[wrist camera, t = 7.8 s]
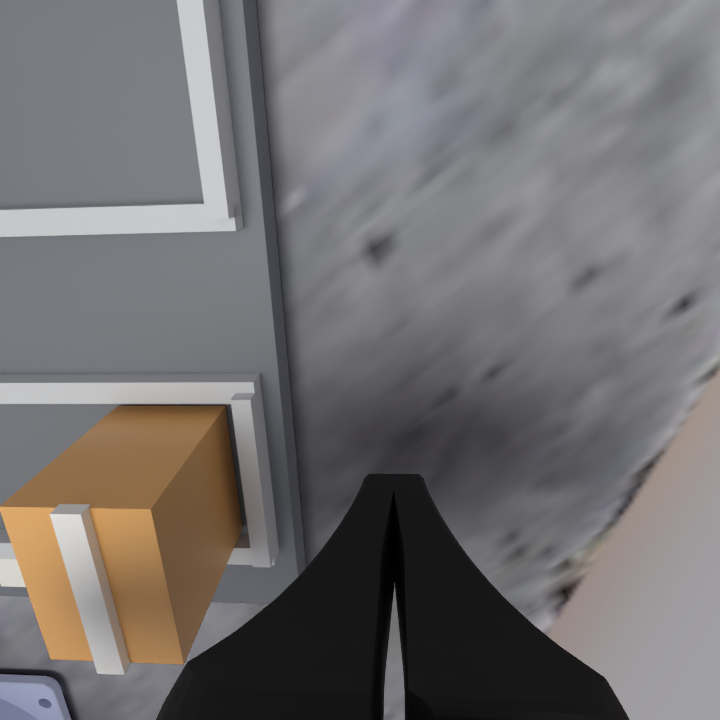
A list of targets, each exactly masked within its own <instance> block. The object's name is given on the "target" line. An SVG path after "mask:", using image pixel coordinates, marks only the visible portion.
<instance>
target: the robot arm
mask: <svg viewBox="0 0 720 720" xmlns="http://www.w3.org/2000/svg"><path fill="white" fill-rule="evenodd" d="M394 582H395V590H396V600H397V610H398V620H399V630H400V641H401V651H402V661H403V671H404V688H405V720H629V718H628V716H627V714H626V712H625V711H624V709H623V707H622V705H621V704H620V702H619V700H618V698H617V697H616V695H615V693H614V692H613V690H612V688H611V687H610V685H609V683H608V682H607V680H606V679H605V678H604V677H603V676H602V675H600V674H599V673H597V672H596V671H594V670H593V669H591V668H590V667H589V666H587V665H586V664H584V663H583V662H582V661H580V660H579V659H577V658H576V657H574V656H573V655H572V654H570V653H569V652H567V651H566V650H564V649H563V648H562V647H560V646H559V645H557V644H556V643H555V642H554V641H552V640H551V639H550V638H549V637H548V636H546V635H545V634H544V633H543V632H541V631H540V630H539V629H538V628H536V627H535V626H534V625H533V624H532V623H531V622H530V621H529V620H528V619H526V618H525V617H524V616H523V615H522V614H521V613H520V612H519V611H518V610H517V609H516V608H515V607H513V606H512V605H511V604H510V603H509V602H508V601H507V600H506V599H505V598H504V597H503V596H502V595H501V594H500V593H499V592H498V590H497V589H496V588H495V587H494V586H493V585H492V584H491V583H490V582H489V581H488V580H487V578H486V577H485V576H484V575H483V574H482V573H481V572H480V570H479V569H478V568H477V567H476V566H475V564H474V563H473V562H472V560H471V559H470V558H469V557H468V555H467V554H466V553H465V551H464V550H463V548H462V547H461V546H460V544H459V543H458V542H457V540H456V539H455V537H454V536H453V534H452V533H451V531H450V530H449V528H448V526H447V525H446V523H445V521H444V520H443V518H442V517H441V515H440V513H439V511H438V510H437V508H436V506H435V504H434V502H433V500H432V498H431V496H430V494H429V492H428V490H427V487H426V485H425V482H424V478H423V477H421V476H420V475H419V474H368V475H367V476H366V477H365V479H364V481H363V484H362V486H361V489H360V491H359V493H358V495H357V497H356V498H355V500H354V502H353V504H352V506H351V507H350V509H349V511H348V512H347V514H346V515H345V517H344V519H343V520H342V522H341V523H340V525H339V526H338V528H337V529H336V531H335V532H334V533H333V535H332V536H331V537H330V539H329V540H328V542H327V543H326V544H325V546H324V547H323V548H322V550H321V551H320V552H319V553H318V555H317V556H316V557H315V558H314V559H313V561H312V562H311V563H310V564H309V565H308V566H307V567H306V569H305V570H304V571H303V572H302V573H301V574H300V575H299V576H298V577H297V578H296V579H295V580H294V581H293V582H292V583H291V584H290V585H289V586H288V587H287V588H286V589H285V590H284V591H283V592H282V593H281V594H280V595H279V596H278V597H277V598H276V599H275V600H273V601H272V602H271V603H270V604H269V605H268V606H267V607H265V608H264V609H263V610H262V611H260V612H259V613H258V614H257V615H255V616H254V617H253V618H252V619H250V620H249V621H248V622H247V623H245V624H244V625H243V626H242V627H240V628H239V629H238V630H236V631H235V632H234V633H232V634H231V635H229V636H228V637H226V638H225V639H223V640H222V641H220V642H218V643H217V644H215V645H214V646H212V647H211V648H209V649H208V650H206V651H205V652H203V653H201V654H200V655H198V656H197V657H195V658H193V659H192V660H190V661H188V662H187V664H186V665H185V667H184V669H183V670H182V672H181V674H180V676H179V677H178V679H177V681H176V682H175V684H174V686H173V688H172V689H171V691H170V693H169V695H168V696H167V698H166V700H165V702H164V704H163V706H162V708H161V710H160V712H159V714H158V717H157V719H156V720H383V716H384V683H385V669H386V659H387V650H388V640H389V631H390V621H391V612H392V602H393V592H394ZM0 720H71V717H70V714H69V711H68V708H67V705H66V702H65V700H64V697H63V694H62V691H61V688H60V685H59V683H58V682H57V681H56V680H55V679H54V678H52V677H48V676H34V675H11V674H0Z"/></svg>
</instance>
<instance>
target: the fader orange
mask: <svg viewBox="0 0 720 720" xmlns="http://www.w3.org/2000/svg"><path fill="white" fill-rule="evenodd" d="M0 512H1V515H2V518H3V521H4V524H5V527H6V530H7V533H8V536H9V539H10V541H11V544H12V547H13V550H14V553H15V556H16V559H17V562H18V565H19V568H20V571H21V574H22V577H23V580H24V583H25V586H26V588H27V591H28V594H29V597H30V600H31V603H32V606H33V609H34V612H35V615H36V618H37V621H38V624H39V627H40V630H41V632H42V635H43V638H44V641H45V644H46V647H47V650H48V653H49V656H50V659H57V660H82V661H94V664H95V668H96V671H97V674H115V675H125V673H126V671H127V669H128V668H129V666H130V664H131V662H132V663H158V664H183V665H184V663H185V661H186V658H187V656H188V654H189V651H190V649H191V647H192V644H193V642H194V640H195V637H196V635H197V633H198V630H199V628H200V626H201V623H202V621H203V619H204V616H205V614H206V612H207V609H208V607H209V605H210V602H211V600H212V598H213V595H214V593H215V591H216V589H217V586H218V584H219V582H220V579H221V577H222V575H223V572H224V570H225V568H226V565H227V563H228V561H229V558H230V556H231V554H232V551H233V549H234V547H235V544H236V542H237V540H238V537H239V535H240V533H241V530H242V522H241V515H240V508H239V500H238V493H237V486H236V479H235V472H234V464H233V457H232V450H231V443H230V436H229V429H228V421H227V414H226V407H225V406H117V407H116V408H115V409H113V410H112V411H111V412H110V413H109V414H107V415H106V416H105V417H104V418H103V419H102V420H100V421H99V422H98V423H97V424H96V425H95V426H93V427H92V428H91V429H90V430H89V431H87V432H86V433H85V434H84V435H83V436H82V437H80V438H79V439H78V440H77V441H76V442H74V443H73V444H72V445H71V446H70V447H69V448H67V449H66V450H65V451H64V452H63V453H61V454H60V455H59V456H58V457H57V458H56V459H54V460H53V461H52V462H51V463H50V464H49V465H47V466H46V467H45V468H44V469H43V470H41V471H40V472H39V473H38V474H37V475H36V476H34V477H33V478H32V479H31V480H30V481H28V482H27V483H26V484H25V485H24V486H23V487H21V488H20V489H19V490H18V491H17V492H16V493H14V494H13V495H12V496H11V497H10V498H8V499H7V500H6V501H5V502H4V503H3V504H1V505H0Z"/></svg>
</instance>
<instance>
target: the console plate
mask: <svg viewBox="0 0 720 720" xmlns="http://www.w3.org/2000/svg"><path fill="white" fill-rule="evenodd" d="M117 406H225V407H226V414H227V421H228V429H229V436H230V443H231V450H232V457H233V464H234V472H235V479H236V486H237V493H238V500H239V508H240V515H241V522H242V530H241V533H240V535H239V537H238V540H237V542H236V544H235V547H234V549H233V551H232V554H231V556H230V558H229V561H228V563H227V565H226V568H225V570H224V572H223V575H222V577H221V579H220V582H219V584H218V586H217V589H216V591H215V593H214V595H213V598H212V600H211V602H229V603H262V604H270V603H271V602H272V601H273V600H275V599H276V598H277V597H278V596H279V595H280V594H281V593H282V592H283V591H284V590H285V589H286V588H287V587H288V586H289V585H290V584H291V583H292V582H293V581H294V580H295V579H296V578H297V577H298V576H299V575H300V574H301V573H302V572H303V571H304V570H305V569H306V560H305V549H304V537H303V526H302V515H301V503H300V492H299V481H298V469H297V458H296V447H295V435H294V424H293V413H292V401H291V390H290V379H289V367H288V356H287V345H286V333H285V322H284V311H283V299H282V288H281V277H280V265H279V254H278V243H277V231H276V220H275V209H274V197H273V186H272V175H271V163H270V152H269V141H268V129H267V118H266V107H265V95H264V84H263V73H262V61H261V50H260V39H259V27H258V16H257V5H256V0H0V505H1V504H3V503H4V502H5V501H6V500H7V499H8V498H10V497H11V496H12V495H13V494H14V493H16V492H17V491H18V490H19V489H20V488H21V487H23V486H24V485H25V484H26V483H27V482H28V481H30V480H31V479H32V478H33V477H34V476H36V475H37V474H38V473H39V472H40V471H41V470H43V469H44V468H45V467H46V466H47V465H49V464H50V463H51V462H52V461H53V460H54V459H56V458H57V457H58V456H59V455H60V454H61V453H63V452H64V451H65V450H66V449H67V448H69V447H70V446H71V445H72V444H73V443H74V442H76V441H77V440H78V439H79V438H80V437H82V436H83V435H84V434H85V433H86V432H87V431H89V430H90V429H91V428H92V427H93V426H95V425H96V424H97V423H98V422H99V421H100V420H102V419H103V418H104V417H105V416H106V415H107V414H109V413H110V412H111V411H112V410H113V409H115V408H116V407H117ZM0 596H29V594H28V591H27V588H26V586H25V583H24V580H23V577H22V574H21V571H20V568H19V565H18V562H17V559H16V556H15V553H14V550H13V547H12V544H11V541H10V539H9V536H8V533H7V530H6V527H5V524H4V521H3V518H2V515H1V512H0Z"/></svg>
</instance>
